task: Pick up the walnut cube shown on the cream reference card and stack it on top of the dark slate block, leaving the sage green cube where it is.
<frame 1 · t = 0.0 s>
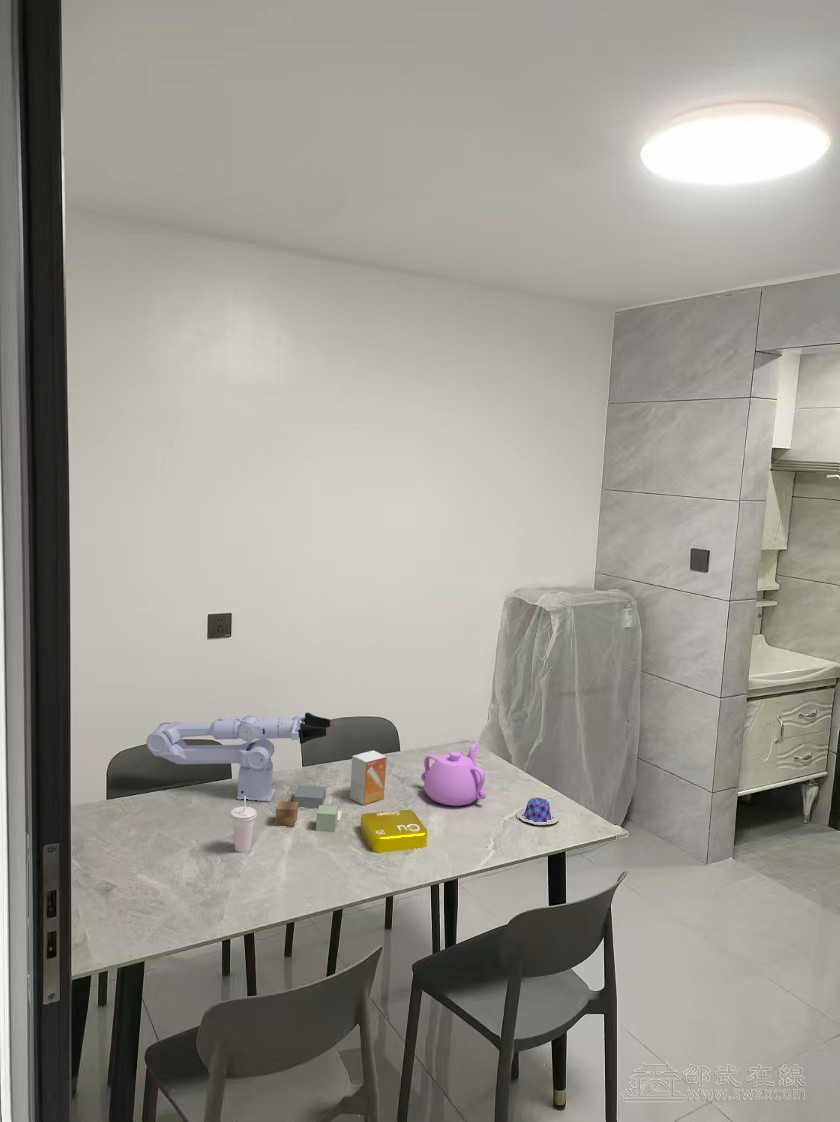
hand: (328, 727, 238), 22 cm above the table, tool horizontal, fingers open, 7 cm apart
element tile: (392, 839, 221), on the table
slate block: (309, 803, 239), on the table
smoothie: (242, 849, 210), on the table
sage cube: (326, 827, 224), on the table
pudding: (537, 819, 238), on the table
walnut cube: (286, 823, 225), on the table
small box: (367, 799, 244), on the table
teapot: (456, 795, 250), on the table
reference card: (330, 815, 231), on the table
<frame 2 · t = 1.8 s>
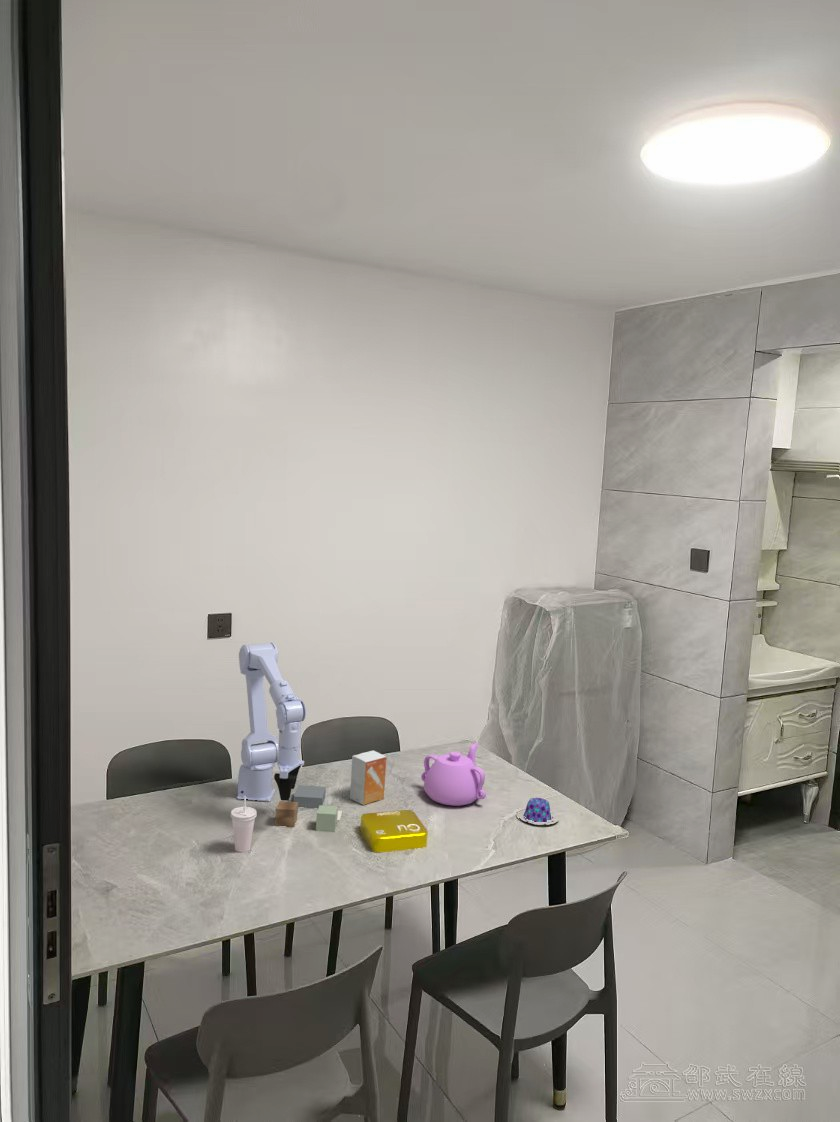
hand: (287, 794, 224), 8 cm above the table, tool pointing down, fingers open, 7 cm apart
nothing on the table moved.
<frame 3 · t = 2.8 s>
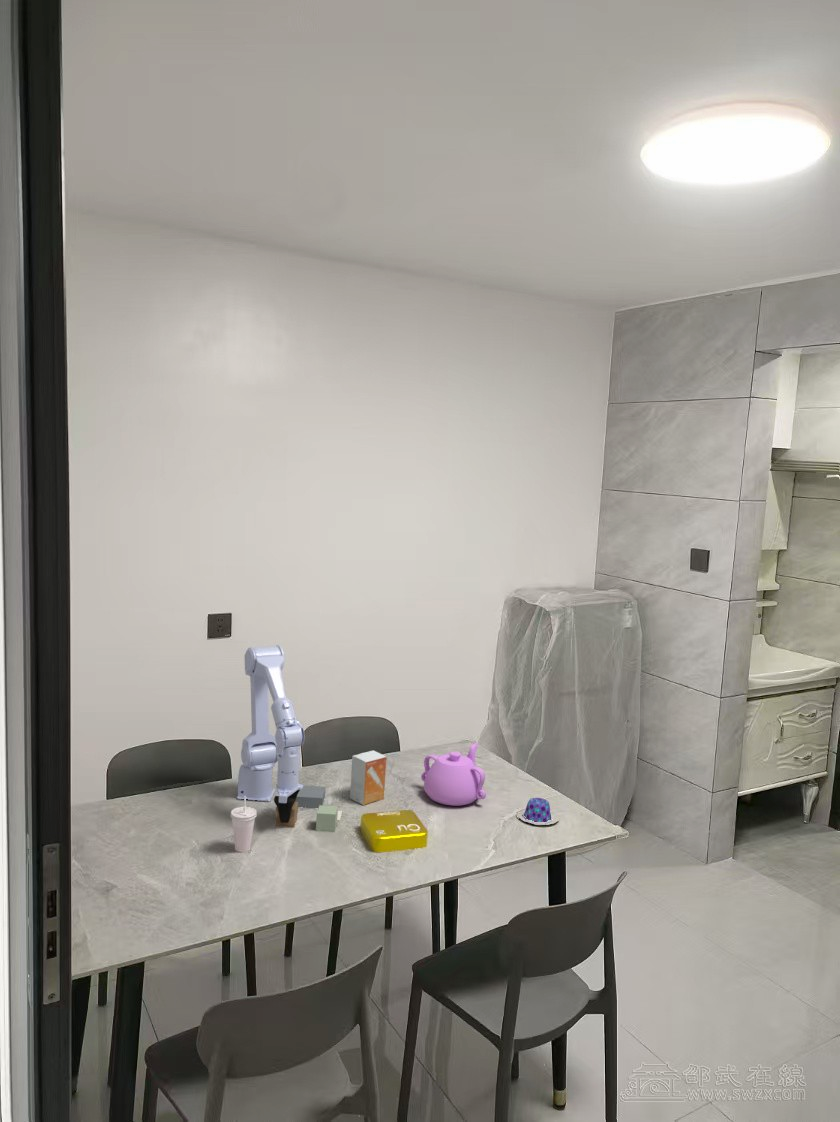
hand: (286, 817, 225), 1 cm above the table, tool pointing down, fingers closed on walnut cube, 5 cm apart
walnut cube: (286, 822, 225), on the table, touching gripper
everything else where it was.
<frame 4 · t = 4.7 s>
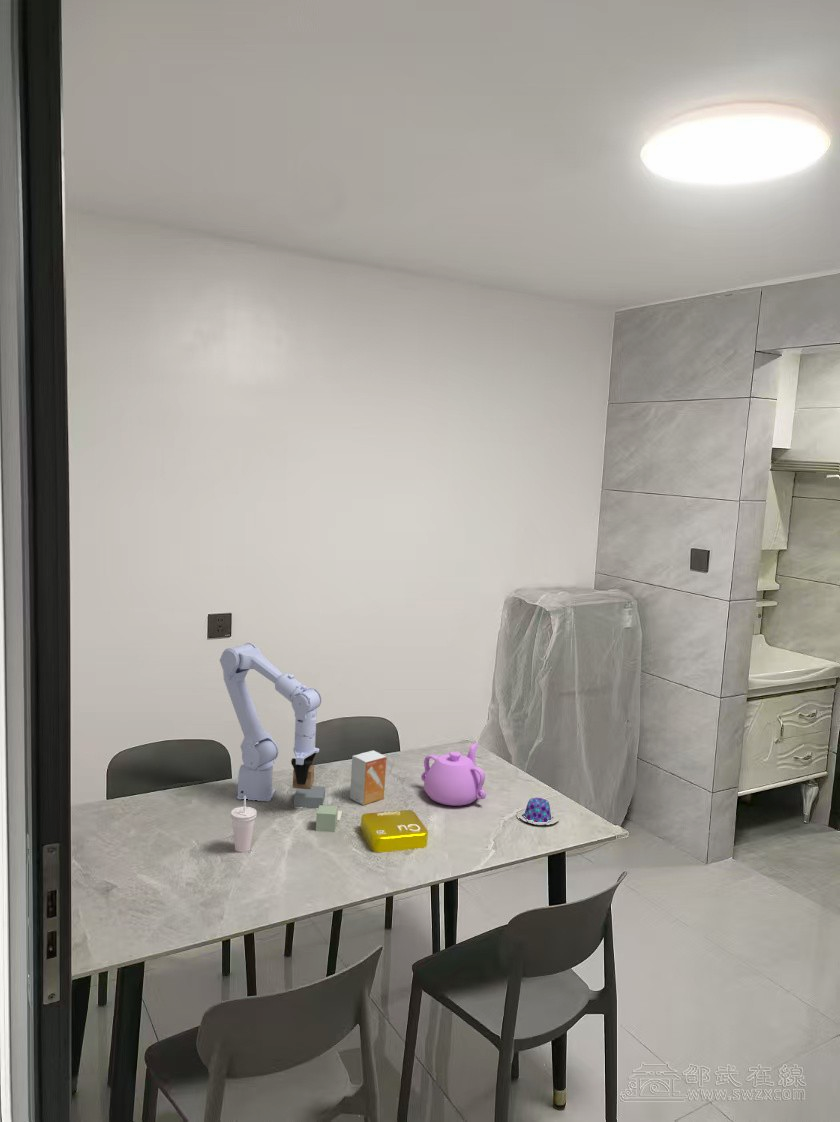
hand: (303, 780, 233), 8 cm above the table, tool pointing down, fingers closed on walnut cube, 5 cm apart
walnut cube: (303, 785, 233), point 7 cm above the table, touching gripper
everything else where it was.
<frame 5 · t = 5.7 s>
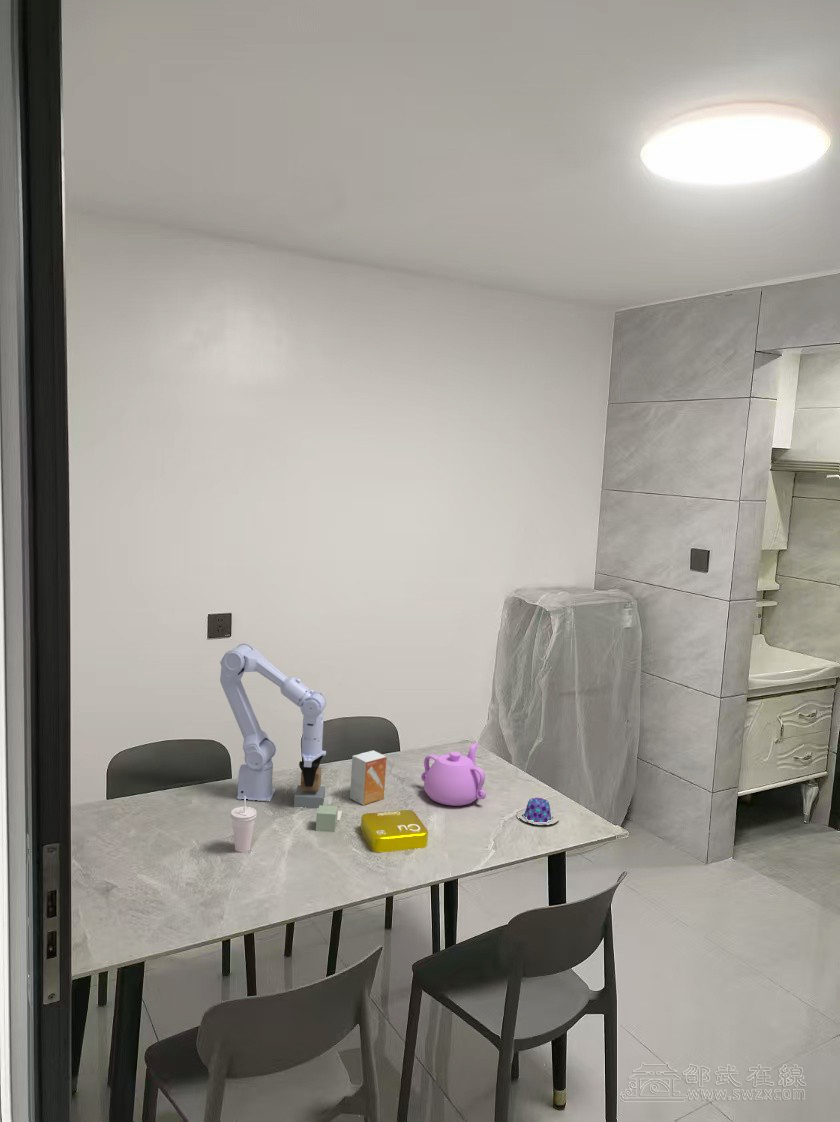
hand: (310, 782, 238), 6 cm above the table, tool pointing down, fingers closed on walnut cube, 5 cm apart
walnut cube: (310, 787, 238), point 4 cm above the table, touching gripper
everything else where it was.
when the fingers open (6 cm above the table, at t = 6.5 s): walnut cube drops 1 cm, point 3 cm above the table.
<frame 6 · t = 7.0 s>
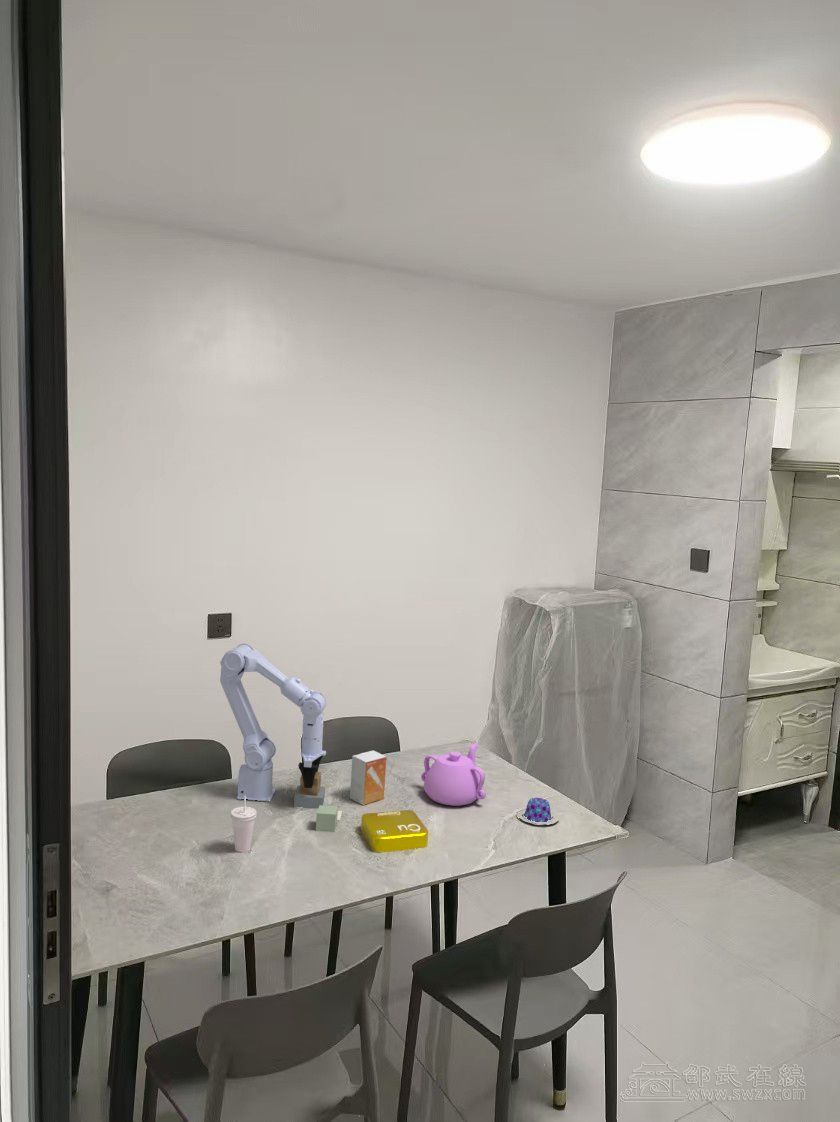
hand: (310, 782, 238), 6 cm above the table, tool pointing down, fingers open, 7 cm apart
walnut cube: (310, 791, 239), point 3 cm above the table
everything else where it was.
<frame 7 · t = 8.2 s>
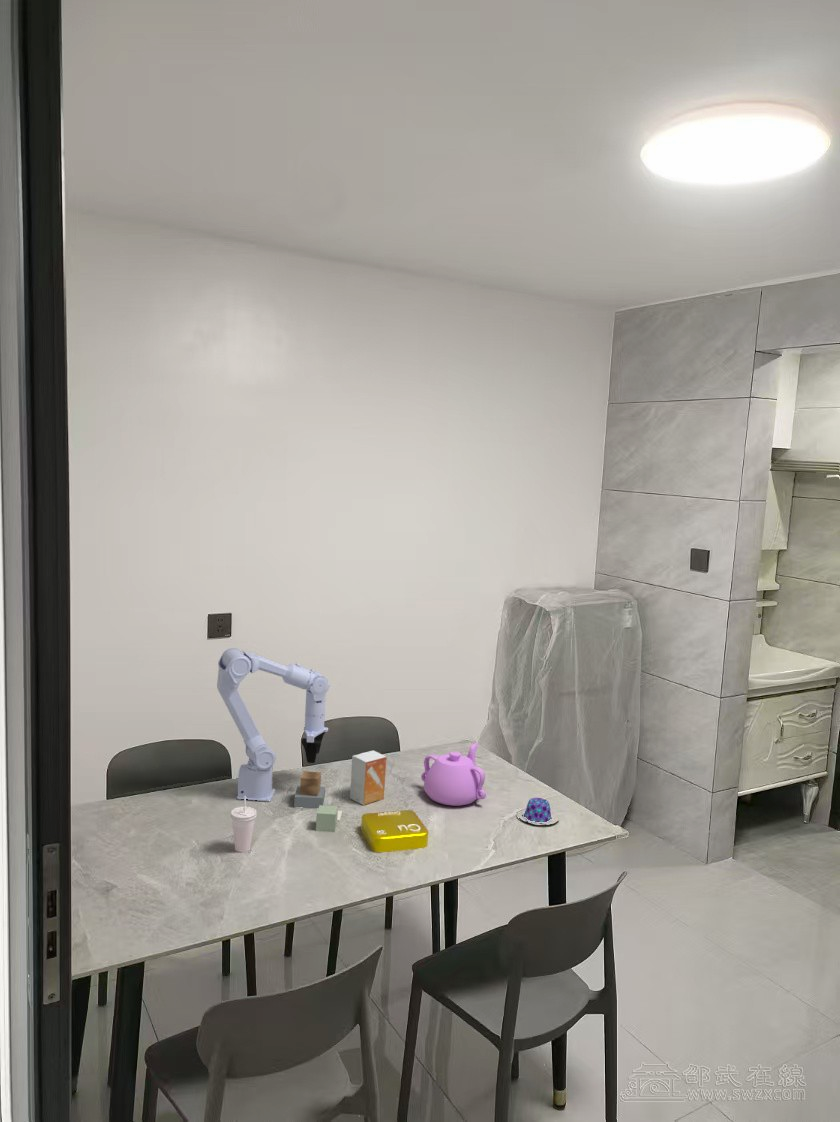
hand: (313, 757, 247), 9 cm above the table, tool pointing down, fingers open, 7 cm apart
slate block: (309, 803, 239), on the table, touching walnut cube
walnut cube: (310, 791, 238), point 3 cm above the table, touching slate block
everything else where it was.
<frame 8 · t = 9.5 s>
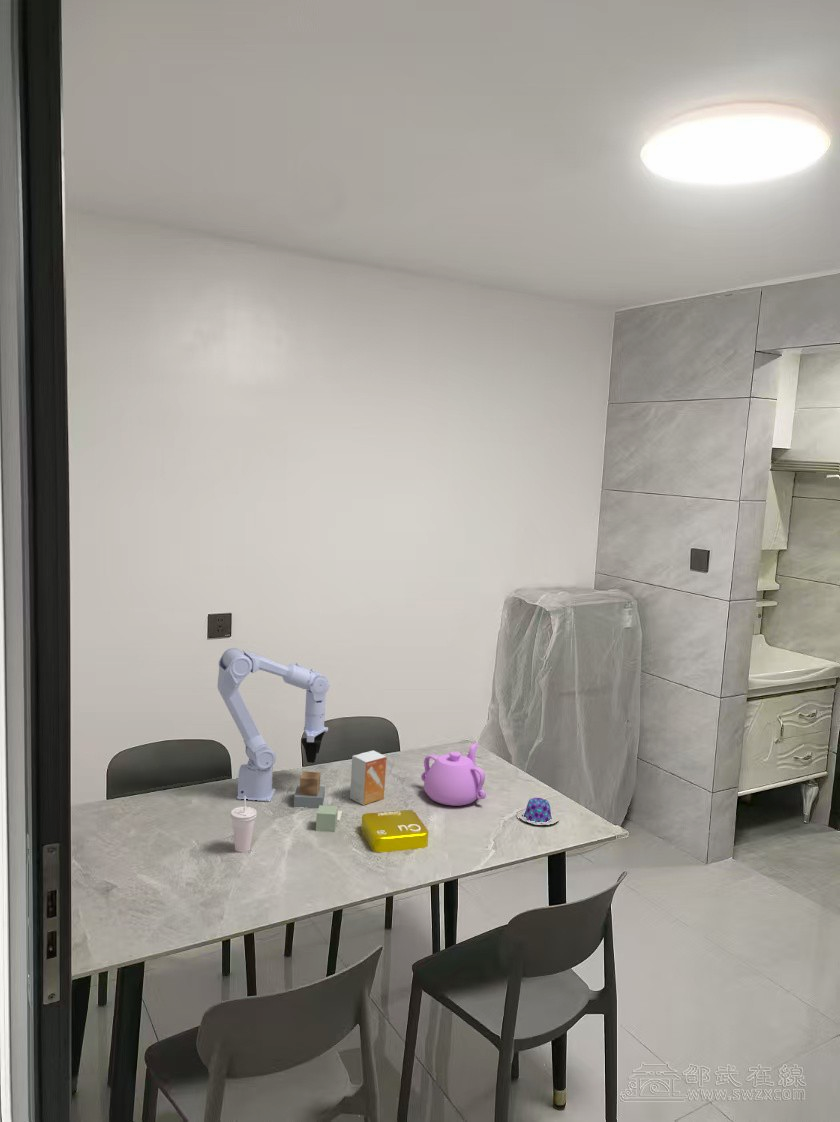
hand: (313, 757, 248), 9 cm above the table, tool pointing down, fingers open, 7 cm apart
nothing on the table moved.
at the end: walnut cube 0.3 cm off-centre on the slate block, point 3.5 cm above the slate block's base; walnut cube tilted 0°; the gripper is holding nothing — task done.
